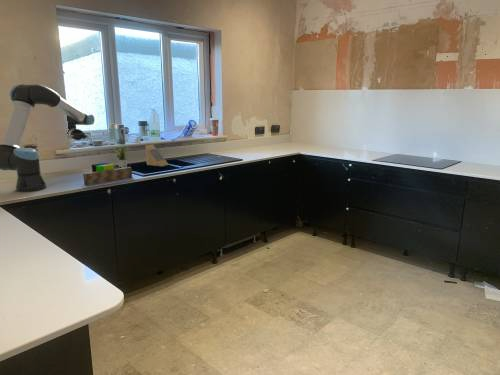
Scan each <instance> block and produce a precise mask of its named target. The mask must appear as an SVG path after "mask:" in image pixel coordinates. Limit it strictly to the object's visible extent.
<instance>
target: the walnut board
mask: <svg viewBox="0 0 500 375" xmlns="http://www.w3.org/2000/svg"><path fill="white" fill-rule="evenodd" d="M132 170H133V168H132V167H131V166H127V167H125V168H114V169H112V170H105V171H98V172H85V173H82V177H83V185H84V186H85V187H87V186H92V185H93V186H94V185H99V184H105V183H110V182H115V181H116V182H117V181H121V180H127V179H133V171H132Z"/></svg>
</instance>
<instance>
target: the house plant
mask: <svg viewBox="0 0 500 375" xmlns="http://www.w3.org/2000/svg"><path fill="white" fill-rule="evenodd" d="M130 149H132V146H131V147H128V146H127V147H126V148H124V147H123V146H122V145H121V146H119V151H118V150H116V149H115V148H113V150H114V151H115V152H116V153H115V155H114V156H115V157H116V158H117V164H118V167H121V168H125V167H128V158H127V157H128V156H129V155H130V156H131V153H127V152H128V151H129V150H130Z"/></svg>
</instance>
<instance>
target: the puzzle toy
mask: <svg viewBox="0 0 500 375" xmlns="http://www.w3.org/2000/svg"><path fill="white" fill-rule="evenodd" d="M91 169H92V172H98V171H105V170H112V169H115V164H113V163H109V162H102V163H95V164H94V163H93V164H91ZM92 172H91V173H92Z"/></svg>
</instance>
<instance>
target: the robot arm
mask: <svg viewBox="0 0 500 375" xmlns="http://www.w3.org/2000/svg"><path fill="white" fill-rule="evenodd" d="M9 97H10V100H11V103H12V104H11V105H13V107H12V108H13V109H12V111H11V116H10V119H9V121H8V125H7V127H6V128H7V129H6V132H5V135H4V138H3V142H2V143H0V171H1V170H2V171H15V172H16V174H17V179H16V184H15V189H16V192H21V193H22V192H23V193H24V192H34V191H40V190H43V189H46V188H47V184H46V181H45V179H44V178H43V176H42V174H41V173H42V172H41V167H40V166H41V165H40V156H39V153H38V151H37V150H36V149H35V148H31V147H21V144H22V141H23V138H24V134H25V130H26V127H27V123H28V120H29V117H30V116H29V115H30V113H31V111H33V110H34V109H35V106H36V105H45V106H48V107H50V108H55V109H56V110H58V111H60V112H61V113H65V114H66V115H67V121H68V129H69V130H68V132H67V134H68V137H69V138H70V139H69V138H68V139H69V140H74V141H80V140H85V139H88V140H91V139H92V134H91V133H90V132H83V131H82V130H81V129H79V128H77V126H91V125H92V126H93V125H94V123H95V117H94V116H95V115H94V114H92V113H91V114H90V113H85V112H84V111H83V110H81V109H80V108H78V107H76V106H75V105H73V104H72V103H70V102H68V101H67V100H66V99H65V98H62V97H61V94H59V93H58V92H56V91H55V90H53V89H52V88H49V87H47V86H46V85H42V84H17V85H13V87H12V88H11V89H10V91H9Z"/></svg>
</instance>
